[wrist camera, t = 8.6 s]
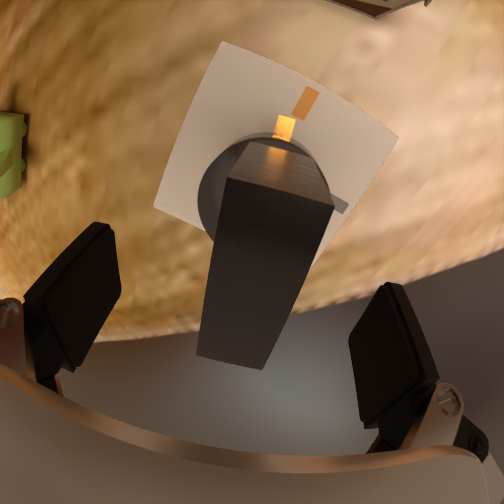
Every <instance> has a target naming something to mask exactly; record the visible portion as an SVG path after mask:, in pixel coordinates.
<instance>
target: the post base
mask: <svg viewBox="0 0 504 504" xmlns="http://www.w3.org/2000/svg"><path fill="white" fill-rule="evenodd" d="M279 114H281V115H285V116H288V117H292V118H295V119H296V121H295V124H294V128H293V131H292V135H291V138H292V139H294V140H296V141H298V142H299V143H301V144H302V145H303V146H304V147H305V148H306V149H308V150H309V152H310V153H311V154H312V155H313V157H314V158H315V160H316V161H317V163H318V165H319V167H320V169H321V171H322V173H323V174H324V176H325V179H326V181H327V183H328V186H329V190H330V194H331V198H332V200H333V202H334V204H335V208H334V211H333V213H332V216H331V218H330V221H329V224H328V226H327V229H326V231H325V234H324V236H323V238H322V241H321V243H320V246H319V248H318V251H317V253H316V255H315V258H314V260H313V262H312V265H311V267H312V266H313V264H314V263H315V262H316V260H317V259H318V258H319V256H320V255H321V253H322V252H323V251H324V249H325V248H326V247H327V245H328V244H329V242H330V241H331V240H332V238H333V237H334V236H335V234H336V233H337V231H338V230H339V228H340V227H341V226H342V224H343V223H344V221H345V220H346V219H347V217H348V216H349V214H350V213H351V211H352V210H353V208H354V207H355V206H356V204H357V203H358V201H359V200H360V198H361V197H362V195H363V194H364V192H365V191H366V189H367V188H368V186H369V185H370V183H371V182H372V180H373V179H374V177H375V176H376V174H377V172H378V171H379V169H380V168H381V166H382V165H383V163H384V162H385V160H386V158H387V157H388V155H389V154H390V152H391V150H392V149H393V147H394V146H395V144H396V142H397V141H398V139H399V138H400V137H399V136H397V135H396V134H395V133H393V132H392V131H391V130H389V129H388V128H387V127H385V126H384V125H383V124H381V123H380V122H379V121H377V120H376V119H374V118H373V117H371V116H370V115H369V114H367V113H366V112H364V111H363V110H361V109H360V108H358V107H357V106H355V105H354V104H352V103H350V102H349V101H347V100H346V99H344V98H342V97H341V96H339V95H337V94H336V93H334V92H332V91H331V90H329V89H327V88H326V87H324V86H322V85H320V84H318V83H317V82H315V81H313V80H311V79H309V78H307V77H305V76H303V75H301V74H300V73H298V72H296V71H294V70H292V69H289V68H287V67H285V66H283V65H281V64H279V63H277V62H274V61H272V60H270V59H268V58H265V57H263V56H261V55H258V54H256V53H253V52H251V51H248V50H246V49H243V48H241V47H238V46H235V45H232V44H230V43H227V42H224V41H222V42H221V44H220V46H219V48H218V49H217V51H216V53H215V55H214V57H213V59H212V61H211V63H210V65H209V67H208V69H207V71H206V73H205V75H204V77H203V79H202V81H201V83H200V85H199V88H198V90H197V92H196V94H195V96H194V99H193V101H192V103H191V105H190V108H189V110H188V112H187V115H186V117H185V119H184V122H183V124H182V127H181V129H180V132H179V134H178V137H177V139H176V142H175V144H174V147H173V150H172V152H171V155H170V158H169V160H168V163H167V166H166V169H165V172H164V175H163V178H162V181H161V184H160V187H159V190H158V193H157V196H156V199H155V202H154V205H153V207H154V208H156V209H159V210H161V211H163V212H165V213H167V214H169V215H172V216H174V217H176V218H178V219H180V220H182V221H184V222H187V223H189V224H191V225H193V226H195V227H197V228H200V229H202V230H204V231H205V229H204V227H203V225H202V222H201V220H200V217H199V212H198V206H197V196H198V189H199V185H200V182H201V179H202V177H203V175H204V173H205V171H206V169H207V168H208V167H209V165H210V164H211V163H212V162H213V161H214V160H215V159H216V158H217V157H218V156H219V155H220V154H221V153H222V152H223V151H224V150H225V149H226V148H227V147H228V146H229V145H230V144H232V143H233V142H235V141H236V140H238V139H240V138H242V137H244V136H247V135H250V134H254V133H261V132H271V133H274V131H275V127H276V123H277V120H278V116H279ZM311 267H310V268H311ZM309 270H310V269H309Z"/></svg>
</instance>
